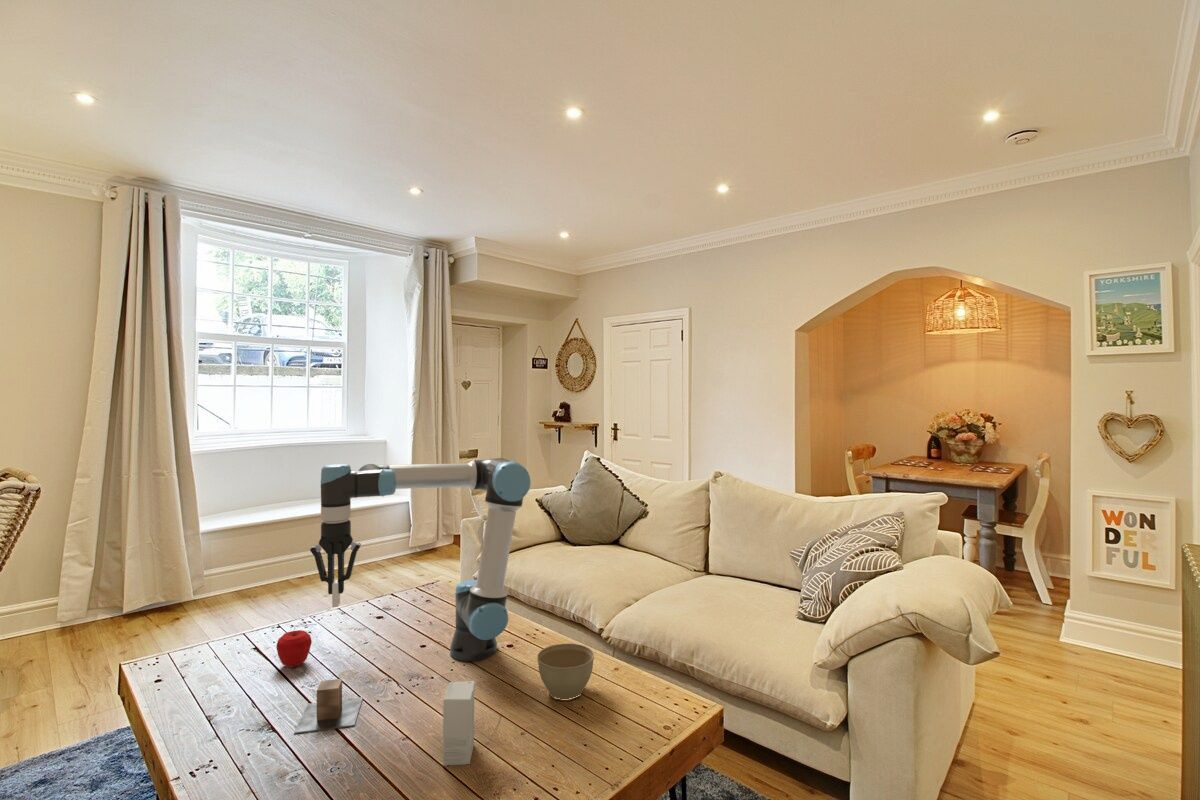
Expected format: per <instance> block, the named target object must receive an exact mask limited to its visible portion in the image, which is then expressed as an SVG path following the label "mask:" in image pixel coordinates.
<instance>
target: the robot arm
mask: <svg viewBox="0 0 1200 800" xmlns="http://www.w3.org/2000/svg"><path fill="white" fill-rule="evenodd" d="M466 487H469V489H470V490H482V491H486V492H485V493H486V494H485V499H484V502H485V503H486V505H487V507H488V510H487V516H486V523H485V528H484V533H483V534H484V535H483V541H482V547H481V552H480V558H479V564H478V569H477V576H476V579H471V580H466V581H465V580H464V581H462V582H459V583H458V584H456V586H455V593H454V595H455V629H454V633H453V636H452V640H451V643H450V646H449V654H450V656H451V657H452V658H453V659H454V660H457V661H461V662H462V661H463V662H475V661H481V660H485V659H487V658H490V657H492V656H493V655H495V654H496V653H497V650H498V641H497V638H498V636H499V635H501V634H502V633H504V631H505V629H506V628H507V626H508V622H509V614H508V610H507V609H506V606H507V605H506V604H507V599H508V591H507V590H506V588H505V587H504V585H505V582H506V575H507V574H506V573H507V569H508V563H509V558H510V557H509V556H510V550H511V544H512V539H513V532H514V525H515V519H516V515H517V514H516V513H517V511H518V510H519V509H520V508H522V507H523V503H524V502H523V500H524V497H525V496H526V495H527V494H528V493H529V490H530V487H531V477H530V474H529V472H528V470H527V468H525V466H523V465H522V464H521V463H519V462H516V461H514V460H509V459H506V458H503V457H502V458H501V457H497V458H489V459H478V460H477V459H475V460H473V459H472V460H470V461H469V462H468V463H421V464H414V463H413V464H411V463H410V464H374V463H368V464H364V465H362V466H361V467H359V469H358V470H352V467H351V466H350V465H349V464H347V463H334V464H331V463H330V464H327V465H324V466H322V468H321V472H320V521H321V524H320V539H319V541H318V543H317V544H316V545H315V544H314V545H313V546H311V548H310V550H309V551H310V553H311V554H312V555H313V556H314V560H315V564H316V568H317V572H318V574H319V579H320V581H321V582H326V583H327V592H328V593H327V594H328V595H331V599H332V600H331V603H332V604H331V605H332V608H336V607H337V608H338V607H339V606H340V604H341V594H344V593H343V592H344V591H345V581H347V580H349V579H350V578H351V577H352V573H353V569H354V566H355V560H356V557H357V553H358V551H359V549H360V548H361V546H362V544H361V542H356V541H354V539H353V537H352V535H351V532H352V531H351V530H352V527H351V526H352V524H351V520H350V518H351V517H352V516H351V514H352V511H351V510H352V509H351V502H352V501H351V500H352V499H355V498H356V499H357V498H368V497H385V496H392V495H395V493H396V490H400V489H401V490H402V489H429V488H430V489H433V488H435V489H436V488H440V489H441V488H466ZM349 547H350V550H351V553H350V557H349V560H348V564H347V568H346V571H345V553H346V551H347V550H348V549H349ZM322 550H323V551H324V552H325V553H326V554H327V556H326V557H327V571H326V566H325V563H324V559H323V556H322V555H323V554H322V552H321V551H322ZM335 555H337V556H336V557H337V580H335V579H336V577H335Z"/></svg>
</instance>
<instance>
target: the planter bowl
mask: <svg viewBox="0 0 1200 800" xmlns="http://www.w3.org/2000/svg"><path fill="white" fill-rule="evenodd" d="M594 659H595V652H594V650H592V648H590V647H588V646H586V645H583V644H578V643H566V642H565V643H558V644H557V643H556V644H552V645H549V646H547V647H543V649H541V650H539V652H538V653H537V662H538V663H537V664H538V670H539V671H538V672H539V676H540V678H541V680H542V683H543V685H544V686H545V688H546V689H547V690H548V694H549V693H550V694H551V695H552V696H553V697H556V698H560V699H569V698H573V697H576V696H578V695H580V694H581V693H582V694H583V692H584V689H585V687H586V686H587V685H588V682H589V681H590V678H591V676H592V674H593V673H592V672H593V666H594ZM582 691H583V692H582ZM550 694H549V695H550ZM582 694H581V695H582Z"/></svg>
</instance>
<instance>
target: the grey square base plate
mask: <svg viewBox="0 0 1200 800" xmlns="http://www.w3.org/2000/svg"><path fill="white" fill-rule="evenodd" d="M362 702H363V696H361V697H360V696H359V697H353V698H351V697H350V698H344V699H343V698H342V709H341V712H340V715H339V718H334V719H326V720H318V721H317V702H311V703H307V705H306V707H305V708H304V712H302V715H301V718H300V719H299V722H298V723H297V726H296V728H295V730H294V732H293V734H294V735H297V734H298V735H299V734H304V733H313V732H321V731H328V730H336V729H345V728H350V727H351V728H353V727H356V726H355V725H356V722H357V718H358V715H359V712H360V709H361V706H362Z"/></svg>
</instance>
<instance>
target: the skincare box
mask: <svg viewBox="0 0 1200 800" xmlns="http://www.w3.org/2000/svg"><path fill="white" fill-rule="evenodd" d="M475 683H476V682H475V681H474V680H471V681H466V680H465V681H450V682H448V684H447V688H446V690H445V693H444V696H443V703H442V704H443V705H442V709H443V710H442V714H443V715H442V718H443V719H442V767H446V765H450V766H467V765H466V764H469V765H470V764H471V759H472V756H473V751H474V750H473V749H474V745H475V739H474V738H475V735H474V734H475V685H476V684H475Z"/></svg>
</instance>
